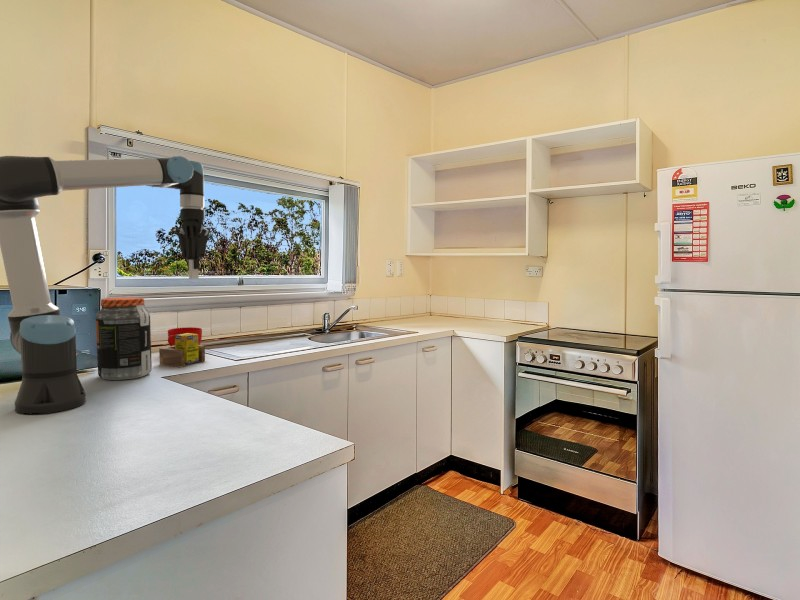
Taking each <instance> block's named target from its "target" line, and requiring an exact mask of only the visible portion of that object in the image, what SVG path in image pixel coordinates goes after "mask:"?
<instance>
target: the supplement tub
mask: <svg viewBox="0 0 800 600" xmlns="http://www.w3.org/2000/svg"><path fill="white" fill-rule="evenodd" d="M100 300H101V301H100V306H101V308H100V309H99V311H98V312H97V313H96V316H95V331H96V332H95V333H96V357H97V376H98V377H99V378H100V379H102V380H108V381H112V380H113V381H118V380H119V381H121V380H123V381H124V380H132V379H138V378H142V377H144V376H146V375H148V374H150V373H151V371H152V364H153V363H152V362H153V361H152V335H151V334H152V333H151V330H152V329H151V315H150V312H149V310H148V309H147V308H146V306H145V298H144V297H111V298H109V297H108V298H101V299H100Z"/></svg>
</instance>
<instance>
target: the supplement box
mask: <svg viewBox="0 0 800 600" xmlns="http://www.w3.org/2000/svg"><path fill="white" fill-rule="evenodd" d="M175 349H179V350H184V361H185V366H188V365H192V364H196V363H199V346H198V334H192V333H186V334H179V335H175Z"/></svg>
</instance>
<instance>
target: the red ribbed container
mask: <svg viewBox="0 0 800 600" xmlns="http://www.w3.org/2000/svg"><path fill="white" fill-rule="evenodd" d="M186 333H192V334H198V345H201V342H202V337H203V329H202V328H201V327H192V326H191V327H175V328H170V329H168V330H167V344H168V345H169V346H174V345H175V335H179V334H186Z"/></svg>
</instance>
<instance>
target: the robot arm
mask: <svg viewBox="0 0 800 600" xmlns="http://www.w3.org/2000/svg"><path fill="white" fill-rule="evenodd" d="M141 186H145V187H150V188H160V189H161V188H162V189H171V190H172V189H173V190H179V206H180V208H181V209H180V210H179V211H180V213H179V215H180V216H179V217H180V221H181V222H182V223H181V227H180V228H179V229H176V230H175V233H176V236H177V237H178V238H177V239H178V241H179V248H180V251H181V257H182V258H185V259H186V260H187V269H188V279H189V280H198V279H199V269H200V259H203V258H205V255H206V249H207V245H208V243H207V242H208V237H209V235H210V233H211V230H210V229H208V228H205V224H204V221H205V220H206V219H205V218H206V217H205V216H206V215H205V210H204V209H205V170H204V166H203V164H202V163H201V162H199V161H195V160H189V159H188V158H186V157H184V156H182V155H181V156H180V155H178V156H171V157H166V158H165V157H164V158H163V157H161V158H151V157H150V158H118V159H117V158H116V159H113V158H112V159H81V160H80V159H79V160H78V159H76V160H72V159H71V160H54V159H53V158H52V157H50V156H20V155H19V156H18V155H4V156H0V251H1V252H0V253H1V257H2V261H3V266H4V271H5V274H6V275H5V277H6V280H7V284H8V290H9V293H10V299H11V303H12V309H11V310H10V311H9V312H8V314H7V319H8V324H9V328H10V329H9V330H10V334H9V340H10V344H11V346H12V348H13V349H14V350H15V351H16V352H17V353H18V354H19V355H21V356H20V357H21V373H22V375H21V376H22V378H21V383H20V387H19V389H18V392H17V395H16V398H15V401H14V411H15V413H17V412H18V414H21V413H27V414H26V415H33V414H32V413H45V414H49V413H48V412H53V413H59V412H64V411H68V410H71V409H75V408H77V407H80V406H82V405H84V404H85V403H86V402H87V401H86V399H87V397H86V392H85V390H84V387H83V385H82V382H81V381H80V378H79V376H78V370H77V369H78V367H77V365H78V364H77V344H76V343H77V341H76V339H77V337H76V334H77V329H76V324H75V321H74V320H73V319H72V318H71V317H68V316H65V315H61V312H60V307H58V306H57V305H55V304H53V303H52V300H51V293H50V290H49V289H50V288H49V285H48V278H47V275H46V269H45V264H44V259H43V255H42V254H43V253H42V249H41V244H40V239H39V233H38V229H37V224H36V217H37V215H38V214H39V213H40V212H41V209H40V203H39V198H41V197H47V196H58V195H60V193H61V192H64V191H65V192H66V191H80V190H95V189H110V188H124V187H141ZM58 411H59V412H58ZM28 413H29V414H28ZM30 413H31V414H30Z"/></svg>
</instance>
